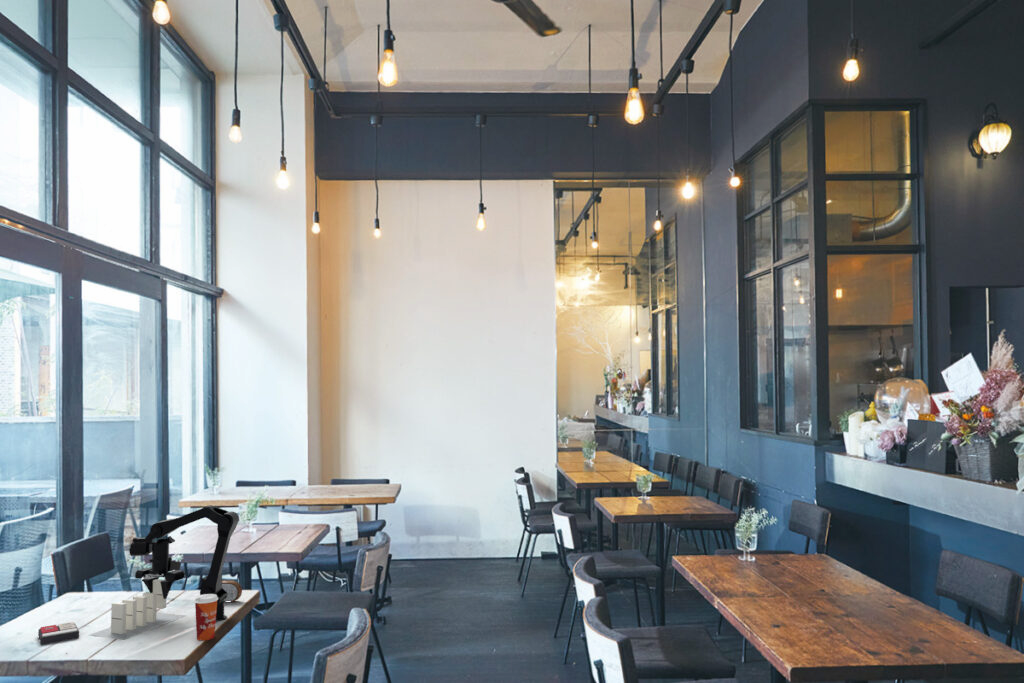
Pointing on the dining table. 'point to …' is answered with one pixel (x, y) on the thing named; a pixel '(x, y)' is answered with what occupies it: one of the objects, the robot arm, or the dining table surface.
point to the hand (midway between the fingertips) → (159, 598)
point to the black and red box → (58, 633)
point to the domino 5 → (159, 594)
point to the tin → (232, 590)
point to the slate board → (139, 627)
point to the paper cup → (206, 616)
